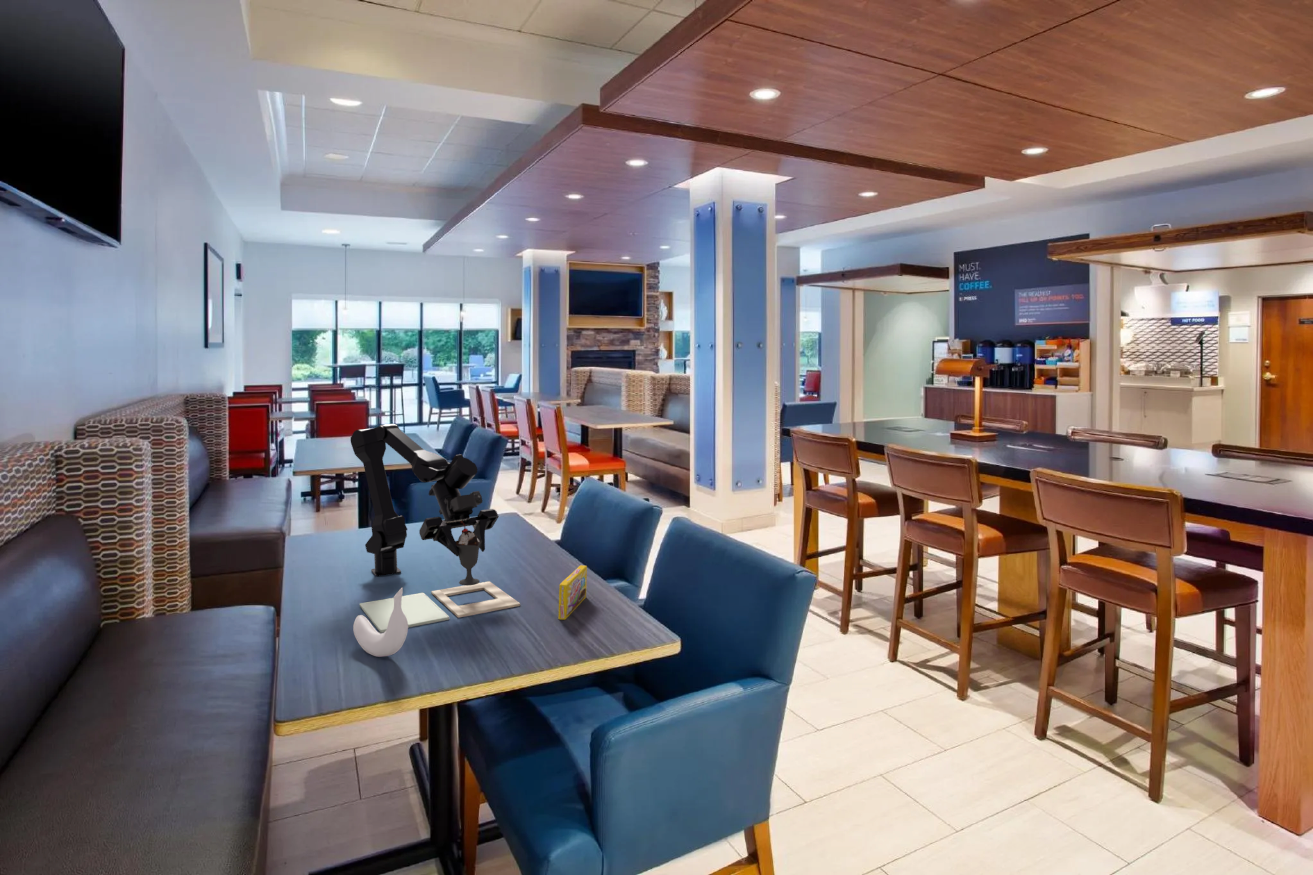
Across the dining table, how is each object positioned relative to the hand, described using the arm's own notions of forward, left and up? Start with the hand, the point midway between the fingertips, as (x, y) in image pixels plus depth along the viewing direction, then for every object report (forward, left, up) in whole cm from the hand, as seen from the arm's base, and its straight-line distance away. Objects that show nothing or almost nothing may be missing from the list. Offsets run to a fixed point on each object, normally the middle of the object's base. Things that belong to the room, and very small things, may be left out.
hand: (471, 553), depth 183 cm
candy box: (+18, +18, -12) cm, 28 cm away
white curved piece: (+21, -27, -12) cm, 36 cm away
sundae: (-1, 0, -8) cm, 8 cm away
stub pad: (0, -16, -12) cm, 20 cm away
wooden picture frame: (0, +1, -12) cm, 12 cm away
